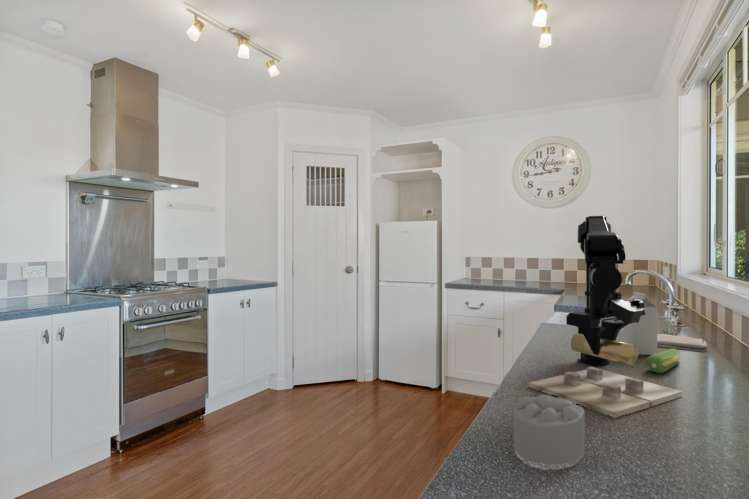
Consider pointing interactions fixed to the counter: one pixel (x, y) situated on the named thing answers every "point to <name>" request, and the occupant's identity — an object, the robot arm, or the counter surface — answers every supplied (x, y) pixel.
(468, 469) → the counter surface
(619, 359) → the hinge pin
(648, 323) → the milk carton
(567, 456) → the lumpy-topped squat cylinder
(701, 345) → the washcloth
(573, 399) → the hinge leaves
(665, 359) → the edible corn
